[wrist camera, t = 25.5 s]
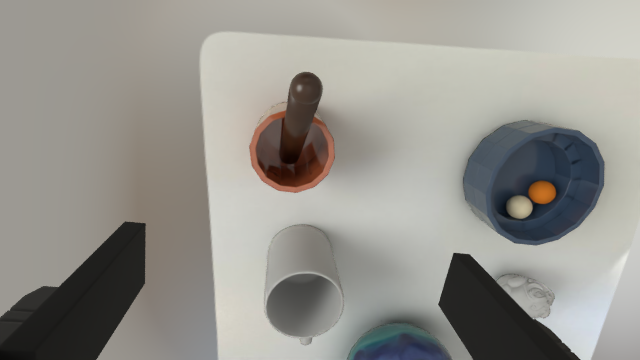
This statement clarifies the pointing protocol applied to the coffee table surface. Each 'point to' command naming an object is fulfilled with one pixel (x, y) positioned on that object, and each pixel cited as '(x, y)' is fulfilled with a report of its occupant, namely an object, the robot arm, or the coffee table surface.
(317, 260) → the mug
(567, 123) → the coffee table surface
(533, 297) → the frog figurine
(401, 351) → the vase
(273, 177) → the holder
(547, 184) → the ball
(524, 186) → the bowl
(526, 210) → the ball
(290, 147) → the stick
